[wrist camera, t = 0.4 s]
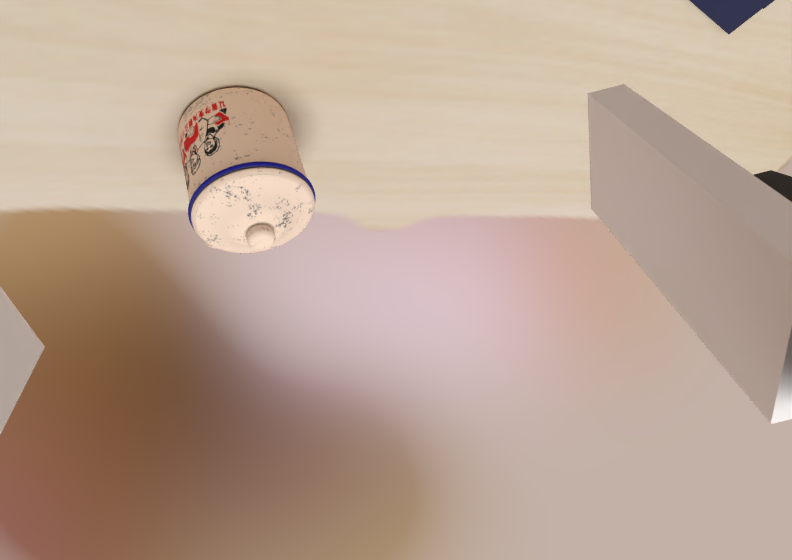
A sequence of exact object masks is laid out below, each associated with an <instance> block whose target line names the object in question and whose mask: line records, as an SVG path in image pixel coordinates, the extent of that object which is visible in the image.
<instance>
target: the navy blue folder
mask: <svg viewBox="0 0 792 560" xmlns="http://www.w3.org/2000/svg"><path fill="white" fill-rule="evenodd" d="M690 1H691V2H692V3H693V4H694V5H696V6H697V7H698V8H699V9H700V10H701V11H702V12H704V13H705V14H706V15H707V16H708V17H709V18H711V19H712V20H713V21H714V22H715V23H716V24H717V25H719V26H720V27H721V28H722V29H723V30H724V31H725V32H727V33H728V34H730V33H731V32H733V31H734V30H735V29H736V28H738V27H739V26H740V25H742V24H743V23H744V22H745V21H747V20H748V19H749V18H751V17H752V16H753V15H754V14H756V13H757V12H758V11H760V10H761V9H762V8H763V9H764V8H765V7H767V6H768V5H769V4H770V3H772V2H773V1H774V0H690Z"/></svg>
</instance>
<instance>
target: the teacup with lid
mask: <svg viewBox="0 0 792 560" xmlns="http://www.w3.org/2000/svg"><path fill="white" fill-rule="evenodd" d="M178 139H179V145H180V151H181V156H182V162H183V167H184V173H185V179H186V184H187V190H188V195H189V201H190V203H189V207H188V215H189V220H190V223H191V225H192V227H193V228H194V230H195V231H196V233H197V234H198V235H199V236H200V237H201V238H202V239H203V240H204V241H205V243H206V244H207V246H209V247H211V248H216V249H221V250H225V251H229V252H237V253H251V252H259V251H264V250H268V249H271V248H274V247H277V246H280V245H282V244H284V243H286V242H288V241H289V240H291V239H293V238H294V237H295V236H297V235H298V234H299V233H300V232H301V231H302V230H303V229H304V228H305V227H306V226H307V224H308V223H309V221H310V219H311V217H312V215H313V212H314V208H315V192H314V189H313V186H312V184H311V183H310V181H309V180H308V179H307V177H306V174H305V171H304V168H303V165H302V162H301V159H300V155H299V152H298V149H297V146H296V143H295V140H294V137H293V133H292V130H291V127H290V124H289V121H288V118H287V115H286V113H285V111H284V110H283V108H282V107H281V106H280V105H279V103H277V102H276V101H275V100H274V99H273V98H271V97H270V96H268V95H266V94H264V93H262V92H260V91H257V90H253V89H248V88H225V89H220V90H216V91H213V92H211V93H208V94H206V95H204V96H202V97H201V98H199V99H197V100H196V101H195V102H193V103H192V104H191V105H190V106H189V107H188V109H187V110H186V111H185V113H184V114H183V116H182V118H181V120H180V123H179V127H178Z"/></svg>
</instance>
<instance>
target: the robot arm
mask: <svg viewBox="0 0 792 560" xmlns="http://www.w3.org/2000/svg"><path fill="white" fill-rule="evenodd" d="M588 119H589V152H590V185H591V209H592V210H593V211H594V212H595V214H596V215H597V216H598V217H599V218H600V220H601V221H602V222H603V223H604V224H605V226H606V227H607V228H608V229H609V230H610V232H611V233H612V234H613V235H614V236H615V238H616V239H617V240H618V241H619V242H620V244H621V245H622V246H623V247H624V248H625V250H626V251H627V252H628V253H629V254H630V256H631V257H632V258H633V259H634V260H635V262H636V263H637V264H638V265H639V266H640V267H641V269H642V270H643V271H644V272H645V274H646V275H647V276H648V277H649V278H650V280H651V281H652V282H653V283H654V284H655V285H656V287H657V288H658V289H659V290H660V292H661V293H662V294H663V295H664V296H665V297H666V299H667V300H668V301H669V302H670V304H671V305H672V306H673V307H674V308H675V310H676V311H677V312H678V313H679V314H680V316H681V317H682V318H683V319H684V320H685V322H686V323H687V324H688V325H689V326H690V328H691V329H692V330H693V331H694V332H695V333H696V335H697V336H698V337H699V338H700V340H701V341H702V342H703V343H704V344H705V346H706V347H707V348H708V349H709V350H710V352H711V353H712V354H713V355H714V357H715V358H716V359H717V360H718V361H719V362H720V364H722V366H723V367H724V368H725V370H726V371H727V372H728V373H729V374H730V376H731V377H732V378H733V379H734V380H735V382H736V383H737V384H738V385H739V386H740V388H741V389H742V390H743V391H744V392H745V394H746V395H747V396H748V397H749V398H750V400H751V401H752V402H753V403H754V405H755V406H756V407H757V408H758V409H759V410H760V412H761V413H762V414H763V415H764V416H765V418H766V419H767V420H768V421H769V423H770V424H773V423H777V422H781V421H785V420H789V419H792V177H791V176H787V175H784V174H781V173H778V172H775V171H771V170H770V171H766V172H763V173H759V174H755V175H752V174H751V173H750V172H748V171H747V170H745V169H744V168H742V167H741V166H740V165H738V164H737V163H735V162H734V161H733V160H731V159H730V158H728V157H727V156H725V155H724V154H723V153H721V152H720V151H718V150H717V149H715V148H714V147H713V146H711V145H710V144H708V143H707V142H705V141H704V140H703V139H701V138H700V137H698V136H697V135H696V134H694V133H693V132H691V131H690V130H688V129H687V128H686V127H684V126H683V125H681V124H680V123H678V122H677V121H676V120H674V119H673V118H671V117H670V116H669V115H667V114H666V113H664V112H663V111H661V110H660V109H659V108H657V107H656V106H654V105H653V104H651V103H650V102H649V101H647V100H646V99H644V98H643V97H641V96H640V95H639V94H637V93H636V92H634V91H633V90H632V89H630V88H629V87H627V86H626V85H624V84H623V85H619V86H615V87H611V88H607V89H603V90H599V91H596V92H592V93H588ZM43 349H44V346H43V344H42V343H41V341H40V340H39V339H38V337H37V336H36V334H34V332H33V330H32V329H31V328H30V326H29V325H28V324H27V322H26V321H25V319H24V318H23V317H22V315H21V314H20V313H19V311H18V310H17V309H16V307H15V306H14V305H13V303H12V302H11V300H10V299H9V298H8V296H7V295H6V294H5V292H4V291H3V290H2V288H1V287H0V434H1V432H2V430H3V428H4V426H5V424H6V422H7V420H8V418H9V416H10V414H11V412H12V410H13V408H14V406H15V404H16V402H17V400H18V398H19V397H20V394H21V392H22V391H23V389H24V387H25V385H26V383H27V381H28V379H29V377H30V375H31V373H32V371H33V369H34V367H35V365H36V363H37V361H38V359H39V357H40V355H41V353H42V351H43Z"/></svg>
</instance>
